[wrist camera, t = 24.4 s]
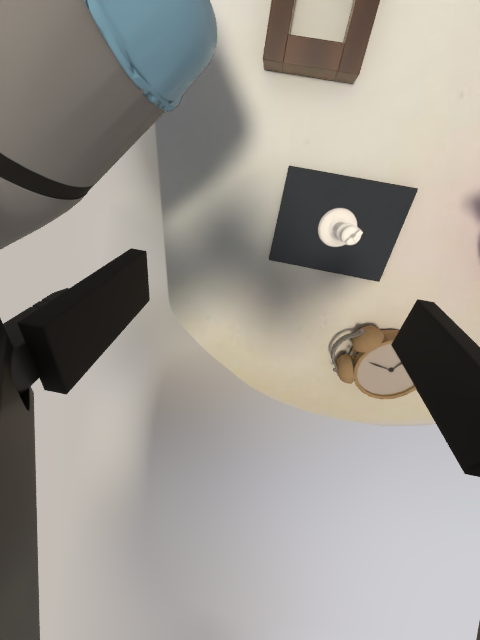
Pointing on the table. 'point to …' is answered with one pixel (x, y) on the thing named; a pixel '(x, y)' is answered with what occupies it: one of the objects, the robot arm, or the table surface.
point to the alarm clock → (373, 364)
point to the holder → (318, 44)
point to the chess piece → (339, 228)
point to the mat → (329, 193)
